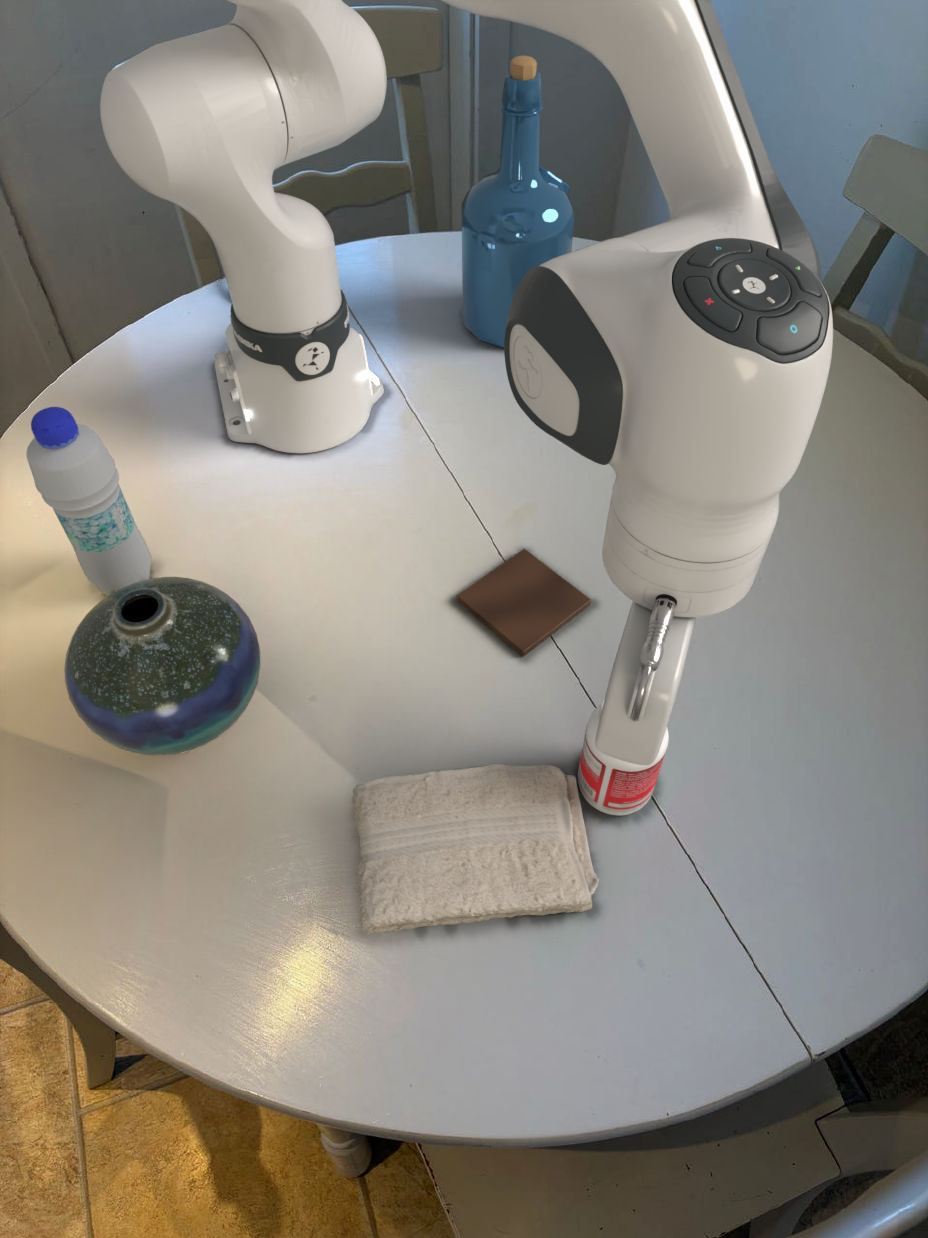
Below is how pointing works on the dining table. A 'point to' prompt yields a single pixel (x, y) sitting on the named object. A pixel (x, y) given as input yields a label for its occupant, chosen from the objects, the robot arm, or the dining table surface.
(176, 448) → the dining table surface
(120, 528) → the bottle
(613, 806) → the pill bottle
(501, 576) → the coaster
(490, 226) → the wine bottle
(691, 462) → the robot arm
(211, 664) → the vase
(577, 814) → the washcloth
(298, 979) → the dining table surface
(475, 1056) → the dining table surface
